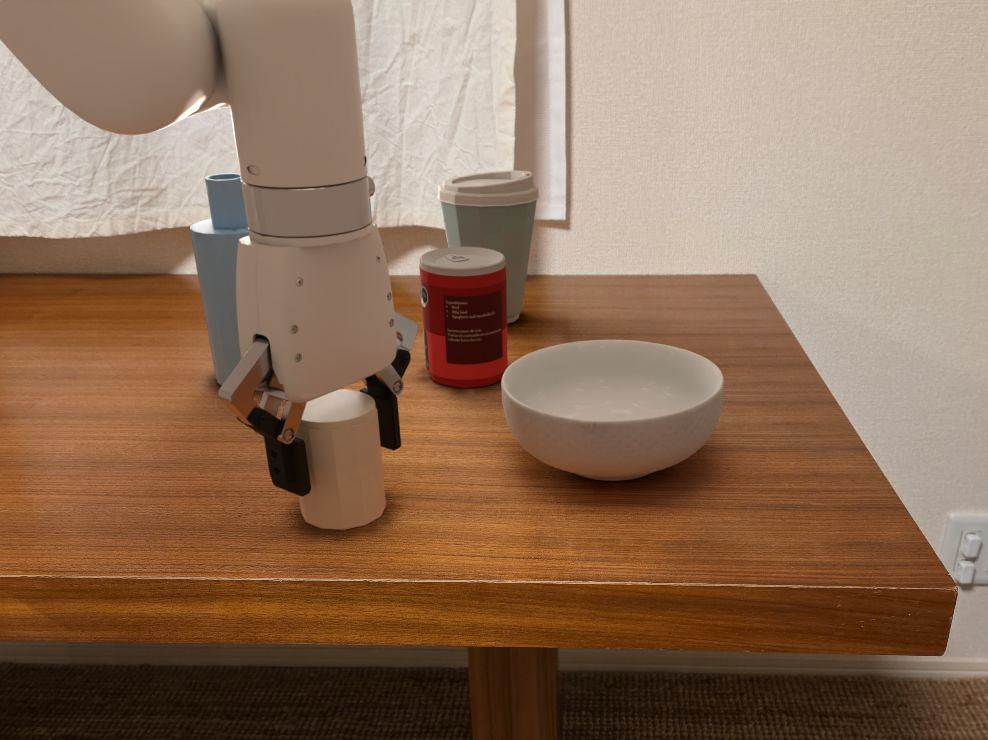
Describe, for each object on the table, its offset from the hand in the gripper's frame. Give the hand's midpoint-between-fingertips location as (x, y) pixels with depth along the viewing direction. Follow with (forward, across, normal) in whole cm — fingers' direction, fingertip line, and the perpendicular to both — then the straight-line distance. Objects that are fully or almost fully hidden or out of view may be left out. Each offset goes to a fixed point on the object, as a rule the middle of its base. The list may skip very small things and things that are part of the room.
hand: (339, 465), depth 70 cm
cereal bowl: (+4, -18, +11) cm, 21 cm away
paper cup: (+3, 0, 0) cm, 3 cm away
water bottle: (+3, -14, -26) cm, 30 cm away
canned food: (+4, -26, -10) cm, 28 cm away
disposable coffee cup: (+4, -41, -19) cm, 45 cm away
